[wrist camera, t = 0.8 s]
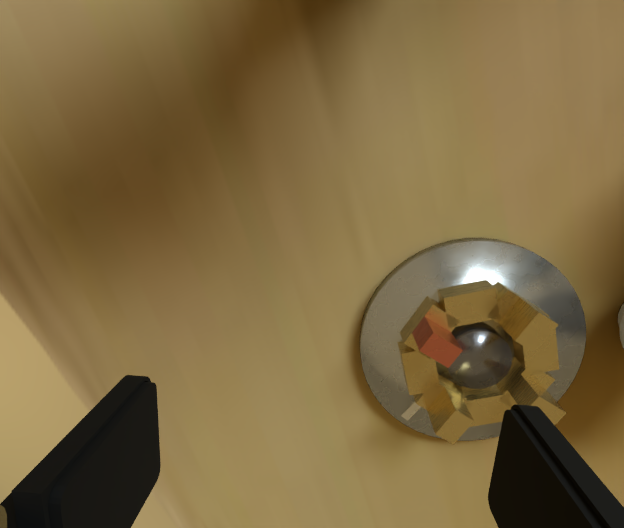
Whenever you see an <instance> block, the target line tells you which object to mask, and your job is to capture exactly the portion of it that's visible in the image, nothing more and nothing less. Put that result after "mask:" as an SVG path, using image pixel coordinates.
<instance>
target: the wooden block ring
mask: <svg viewBox="0 0 624 528" xmlns="http://www.w3.org/2000/svg"><path fill="white" fill-rule="evenodd" d="M437 292H438V297H439V303H438V302H437V301H435V300H433V299H432V298H430V297H429V296H427V297H426V298H425V299H424V301H423V302H422V303H421V305H420V306H419V307H418V309H417V310H416V311H415V313H414V314H413V315H412V317H411V318H410V319H409V321H408V322H407V323H406V325H405V326H404V327H403V329H402V330H401V331H400V334H401V337H402V340H403V341H401V342H397V343H398V348H399V353H400V357H401V362H402V367H403V372H404V377H405V382H406V385H407V388H408V392H409V395H413V396H414V400H415V403H416V404H417V405H419V406H421V407H423V408H424V409H426V410H427V412H428V415H429V418H430V421H431V423H432V426H433V429H434V432H435V434H436V435H438V436H439V437H441V438H443V439H444V440H446V441H448V442H450V443H451V444H453V445H454V444H455V442H456V441H457V440H458V439H459V438H460V437H461V436H462V434H463V433H464V432H465V431H466V430H467V429H468V428H469V427H473V426H479V425H485V424H492V423H498V422H502V421H503V415H504V412H505V411H506V410H510V409H511V407H512V406H513V405H515V404H516V405H529V406H538V407H539V408H540V409H541V410H542V411H543V412H544V413H545V415H546V416H547V417H548V418H549V419H550V421H551V422H552V423H553V424H554V425H556V424H557V423H558V422H559V421H560V420H561V419H562V417H563V416H564V415H565V414H566V412H565V410H564V409H563V408H562V407H561V406H560V405H559V404H558V402H557V401H556V400H555V399H554V398H553V397H552V396H551V395H550V393H549V392H548V391H547V390H546V389H547V388H548V387H549V386H550V385H551V384H552V383H553V382H554V381H555V379H554V378H553V376H552V375H551V374H550V373H549V372H548V371H553V370H559V360H558V349H557V338H556V327H557V326H558V324H557V323H556V322H555V321H553V320H552V319H551V318H549V315H548V314H547V313H545V312H544V311H543V310H541V309H540V308H539V307H537V306H536V305H534V304H533V303H531V302H530V301H528V300H527V299H525V298H523V297H522V296H520V295H519V294H517V293H515V292H514V291H512V290H511V289H509V288H507V287H506V286H504V285H503V284H501V283H499V282H497V283H496V284H495V285H494V286H493V285H492V284H491V283H490V282H488V281H487V280H481V281H476V282H471V283H466V284H461V285H456V286H451V287H446V288H442V289H437ZM488 320H494V321H496V322H497V323H499V324H500V325H501V327H502V328H503V329H504V330H505V331H506V332H507V333H508V334H509V335H510V336H511V337H512V341H513V349H514V358H513V359H512V364H511V367H510V370H509V372H508V373H507V375H506V376H505V377H504V378H503V379H502V380H501V381H500V382H498V383H497V384H495V385H493V386H490V387H487V388H482V389H471V388H467V387H464V386H462V387H460V386H458V385H456V384H455V383H453V382H451V381H450V380H448V379H446V378H445V377H443V376H441V375H440V374H438V373H437V367H436V362H435V360H436V361H437V362H439V363H441V364H442V365H444V366H446V367H447V368H449V367H450V366H451V364H452V363H453V362H454V361H455V360H456V358H457V357H458V356H459V355H460V353H461V352H462V351H463V350H462V348H461V347H460V345H459V343H458V342H457V340H456V339H455V337H454V336H453V334H452V331H453V330H454V328H455V327H457V326H462V325H467V324H473V323H478V322H483V321H488Z"/></svg>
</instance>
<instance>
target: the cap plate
mask: <svg viewBox="0 0 624 528" xmlns="http://www.w3.org/2000/svg"><path fill="white" fill-rule="evenodd" d="M481 280H487V281H488V282H490V283H491V284H492V285H493V286H494V285H495V284H496V283H497V282H499V283H501V284H503V285H504V286H506V287H507V288H509V289H511V290H512V291H514V292H515V293H517V294H519V295H520V296H522V297H523V298H525V299H527V300H528V301H530V302H531V303H533V304H534V305H536V306H537V307H539V308H540V309H541V310H543V311H544V312H545V313H547V314H548V315H549V318H551V319H552V320H553V321H555V322H556V323H557V324H558V326H557V327H556V338H557V349H558V360H559V370H553V371H548V372H549V373H550V374H551V375H552V376H553V378H554V379H555V381H554V382H553V383H552V384H551V385H550V386H549V387H548V388H547V389H546V390H547V391H548V392H549V393H550V395H551V396H552V397H553V398H554V399H555V400H556V401H557V402H558V400H559V399H560V398H561V397H562V396H563V394H564V393H565V392H566V391H567V389H568V388H569V386H570V385H571V383H572V381H573V380H574V378H575V376H576V374H577V372H578V370H579V367H580V365H581V361H582V358H583V355H584V350H585V343H586V324H585V317H584V312H583V309H582V306H581V303H580V300H579V298H578V296H577V294H576V292H575V290H574V288H573V287H572V286H571V284H570V283H569V281H568V280H567V279H566V277H565V276H564V275H563V274H562V273H561V272H560V271H559V270H558V269H557V268H556V267H555V266H553V265H552V264H551V263H549V262H548V261H547V260H545V259H544V258H542V257H540V256H538V255H537V254H535V253H533V252H531V251H529V250H527V249H525V248H523V247H520V246H518V245H515V244H512V243H509V242H505V241H501V240H497V239H487V238H464V239H458V240H451V241H447V242H444V243H440V244H437V245H434V246H431V247H429V248H427V249H424V250H422V251H420V252H418V253H416V254H415V255H413V256H411V257H409V258H408V259H407V260H405V261H404V262H402V263H401V264H400V265H398V266H397V267H396V268H395V269H394V270H393V271H392V272H391V273H390V274H389V275H388V276H387V277H386V278H385V279H384V280H383V281H382V283H381V284H380V285H379V286H378V288H377V289H376V291H375V293H374V294H373V296H372V297H371V299H370V301H369V304H368V306H367V308H366V310H365V313H364V317H363V320H362V324H361V331H360V354H361V361H362V367H363V371H364V374H365V377H366V380H367V382H368V385H369V387H370V389H371V391H372V392H373V394H374V395H375V397H376V398H377V400H378V401H379V403H380V404H381V405H382V406H383V407H384V408H385V409H386V410H387V411H388V412H389V413H390V414H391V415H392V416H393V417H395V418H396V419H397V420H399V421H400V422H402V423H403V424H405V425H406V426H408V427H410V428H412V429H414V430H416V431H418V432H421V433H424V434H426V435H429V436H433V437H437V438H441V437H439V436H438V435H436V434H435V432H434V429H433V426H432V423H431V421H430V418H429V415H428V412H427V410H426V409H424V408H423V407H421V406H419V405H417V404H416V403H415V400H414V396H413V395H409V392H408V388H407V385H406V382H405V377H404V372H403V367H402V362H401V357H400V353H399V348H398V343H397V342H401V341H403V340H402V337H401V334H400V331H401V330H402V329H403V327H404V326H405V325H406V323H407V322H408V321H409V319H410V318H411V317H412V315H413V314H414V313H415V311H416V310H417V309H418V307H419V306H420V305H421V303H422V302H423V301H424V299H425V298H426V297H427V296H429V297H430V298H432V299H433V300H435V301H437V302H438V303H439V297H438V292H437V289H442V288H446V287H451V286H456V285H461V284H466V283H471V282H476V281H481ZM452 334H453V336H454V337H455V339H456V340H457V342H458V343H459V345H460V347H461V348H462V350H463V351H462V352H461V353H460V355H459V356H458V357H457V358H456V360H455V361H454V362H453V363H452V364H451V366H450V367H449V368H447V367H446V366H444V365H442V364H441V363H439V362H437V361H436V360H435V362H436V367H437V373H438V374H440V375H441V376H443V377H445V378H446V379H448V380H450V381H451V382H453V383H455V384H456V385H458V386H460V387H462V386H464V387H467V388H471V389H482V388H487V387H490V386H493V385H495V384H497V383H498V382H500V381H501V380H502V379H503V378H504V377H505V376H506V375H507V373H508V372H509V370H510V367H511V364H512V359H513V358H514V349H513V341H512V337H511V336H510V335H509V334H508V333H507V332H506V331H505V330H504V329H503V328H502V327H501V325H500V324H499V323H497V322H496V321H494V320H488V321H483V322H478V323H473V324H467V325H462V326H457V327H455V328H454V330H453V331H452ZM501 426H502V422H498V423H492V424H485V425H479V426H473V427H469V428H468V429H467V430H466V431H465V432H464V433H463V434H462V436H461V437H460V438H459V439H458V440H457V441H472V440H482V439H488V438H493V437H498V436H500V431H501ZM441 439H443V438H441Z"/></svg>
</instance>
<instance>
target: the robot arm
mask: <svg viewBox="0 0 624 528" xmlns="http://www.w3.org/2000/svg"><path fill="white" fill-rule="evenodd" d="M159 473H160V447H159V428H158V408H157V389H156V384H155V383H152V382H151V381H150V378H149V377H145V376H132V375H126V376H125V377H124V378H123V379H122V380H121V381H120V382H119V383H118V384H117V385H116V386H115V387H114V388H113V389H112V390H111V391H110V392H109V393H108V394H107V395H106V396H105V397H104V398H103V399H102V400H101V401H100V402H99V403H98V404H97V405H96V406H95V407H94V408H93V409H92V410H91V411H90V412H89V413H88V414H87V415H86V416H85V417H84V418H83V419H82V420H81V421H80V422H79V423H78V424H77V425H76V426H75V427H74V428H73V429H72V430H71V431H70V432H69V433H68V434H67V435H66V437H64V438H63V440H61V441H60V442H59V444H58V445H57V446H56V447H55V448H54V449H53V450H52V451H51V452H50V453H49V454H48V455H47V456H46V457H45V458H44V459H43V460H42V461H41V462H40V463H39V464H38V465H37V466H36V467H35V468H34V469H33V470H32V471H31V472H30V473H29V474H28V475H27V476H26V477H25V478H24V479H23V480H22V481H21V482H20V483H19V484H18V485H17V486H16V487H15V488H14V489H13V490H12V493H11V494H10V495H9V496H8V497H7V498H6V499H5V500H4V501H3V502H2V503H1V504H0V528H131V526H132V524H133V523H134V521H135V519H136V517H137V515H138V514H139V512H140V510H141V508H142V507H143V505H144V503H145V501H146V499H147V497H148V496H149V494H150V492H151V490H152V489H153V487H154V485H155V483H156V481H157V479H158V476H159ZM488 501H489V506H490V509H491V512H492V514H493V516H494V519H495V521H496V523H497V525H498V527H499V528H624V507H623V506H622V505H621V504H620V503H619V501H618V500H617V499H616V498H615V497H614V496H613V494H612V493H611V492H610V491H609V490H608V488H607V487H606V486H605V485H604V484H603V482H602V481H601V480H600V479H599V478H598V476H597V475H596V474H595V473H594V472H593V471H592V469H591V468H590V467H589V466H588V465H587V463H586V462H585V461H584V460H583V459H582V457H581V456H580V455H579V454H578V453H577V451H576V450H575V449H574V448H573V447H572V446H571V444H570V443H569V442H568V441H567V440H566V438H565V437H564V436H563V435H562V434H561V432H560V431H559V430H558V429H557V428H556V427H555V425H554V424H553V423H552V422H551V421H550V419H549V418H548V417H547V416H546V415H545V413H544V412H543V411H542V410H541V409H540V408H539V407H538V406H529V405H516V404H515V405H513V406H512V407H511V409H510V410H506V411H505V412H504V415H503V421H502V426H501V431H500V436H499V441H498V446H497V452H496V457H495V462H494V467H493V472H492V477H491V483H490V488H489V493H488Z"/></svg>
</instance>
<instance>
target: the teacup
mask: <svg viewBox="0 0 624 528" xmlns="http://www.w3.org/2000/svg"><path fill="white" fill-rule="evenodd" d="M618 325H619V328H620V340H621V343H622V346H623V348H624V303H623V305H622V306H621V308H620V311H619V314H618Z"/></svg>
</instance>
